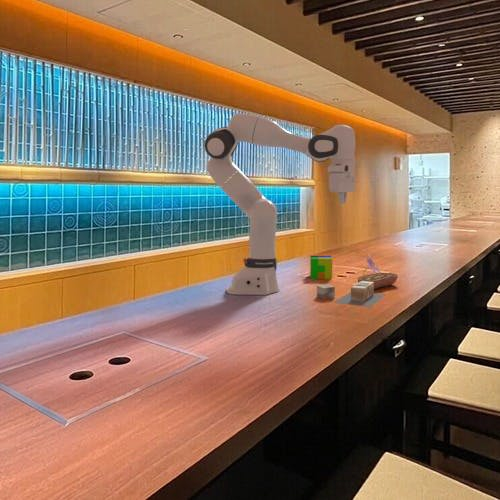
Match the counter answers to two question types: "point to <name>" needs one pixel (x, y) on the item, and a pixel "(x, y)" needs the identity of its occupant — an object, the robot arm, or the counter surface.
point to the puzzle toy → (321, 267)
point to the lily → (371, 265)
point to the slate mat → (367, 302)
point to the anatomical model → (380, 279)
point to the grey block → (325, 291)
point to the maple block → (362, 291)
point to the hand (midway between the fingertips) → (342, 203)
